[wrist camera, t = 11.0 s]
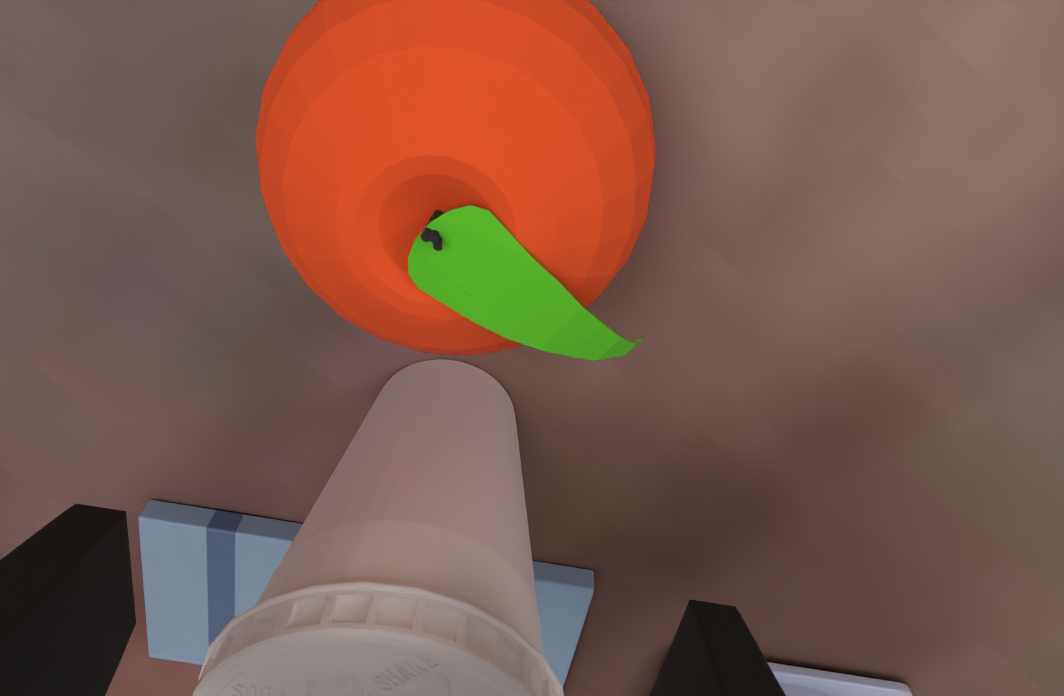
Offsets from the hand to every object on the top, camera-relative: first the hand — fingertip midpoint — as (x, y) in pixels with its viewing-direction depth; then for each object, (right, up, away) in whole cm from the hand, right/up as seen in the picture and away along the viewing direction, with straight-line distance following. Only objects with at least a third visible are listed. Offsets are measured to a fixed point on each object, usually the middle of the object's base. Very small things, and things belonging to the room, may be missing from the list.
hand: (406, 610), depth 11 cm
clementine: (+1, +8, +7) cm, 11 cm away
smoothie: (-1, +2, +11) cm, 12 cm away
